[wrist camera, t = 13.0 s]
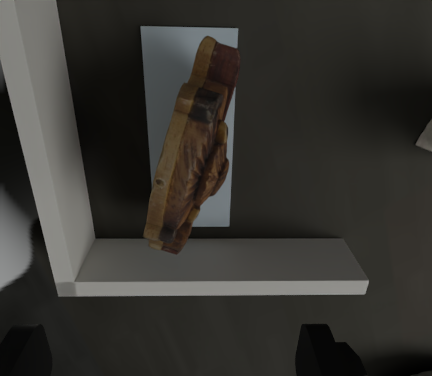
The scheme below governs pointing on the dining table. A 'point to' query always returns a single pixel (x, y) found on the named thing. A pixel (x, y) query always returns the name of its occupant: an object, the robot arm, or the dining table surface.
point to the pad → (167, 93)
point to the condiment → (426, 138)
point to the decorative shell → (424, 374)
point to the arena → (132, 248)
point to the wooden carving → (193, 147)
